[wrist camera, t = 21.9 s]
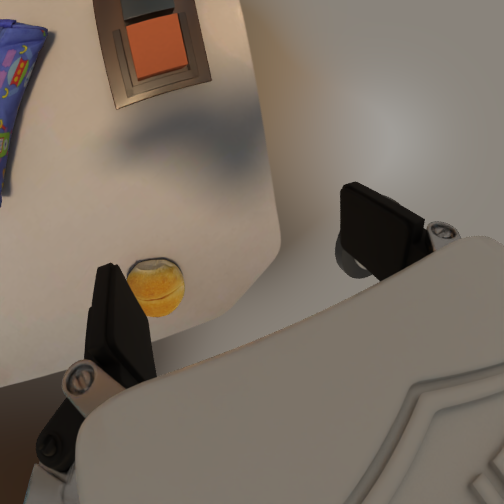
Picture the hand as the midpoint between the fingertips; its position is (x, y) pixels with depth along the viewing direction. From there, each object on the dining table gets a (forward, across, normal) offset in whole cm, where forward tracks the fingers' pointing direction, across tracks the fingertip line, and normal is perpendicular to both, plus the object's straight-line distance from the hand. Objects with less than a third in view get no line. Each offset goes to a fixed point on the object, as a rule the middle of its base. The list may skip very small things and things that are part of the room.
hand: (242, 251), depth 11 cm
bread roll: (+25, +8, +17) cm, 31 cm away
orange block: (+23, 0, -12) cm, 26 cm away
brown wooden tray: (+24, 0, -14) cm, 28 cm away
